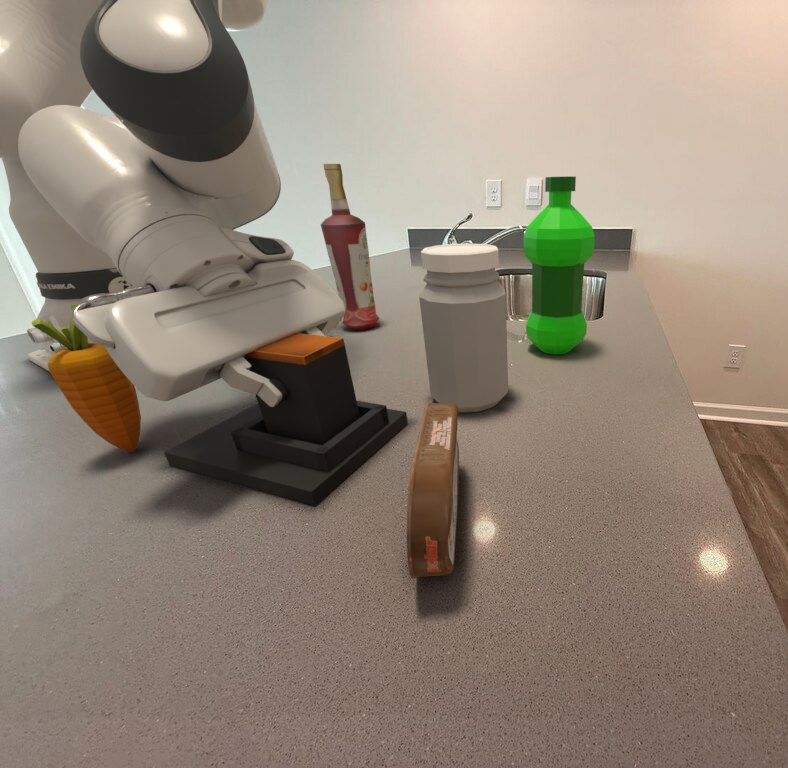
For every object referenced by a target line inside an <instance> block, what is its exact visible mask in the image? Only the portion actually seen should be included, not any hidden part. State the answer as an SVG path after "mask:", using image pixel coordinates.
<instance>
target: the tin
mask: <svg viewBox="0 0 788 768" xmlns="http://www.w3.org/2000/svg"><path fill="white" fill-rule="evenodd" d="M458 419H459V412H458V405H456V404H452V403H438V402H431V401H427V402H426V403H425V405H424V410H423V414H422V418H421V422H420V428H419V432H418V436H417V441H416V444H415V450H414V454H413V458H412V462H411V466H410V467H411V468H410V475H409V482H408V494H407V496H408V497H407V505H406V506H407V507H406V555H407V556H406V557H407V566H408V572H409V576H410V578H411V579H417V577H418V578H419V577H441V576H447V575H450V574H452V572H453V570H454V569H455V568H454V567H455V554H456V543H457V542H456V541H457V539H456V538H457V528H458V527H457V525H458V512H459V511H458V509H459V476H460V475H459V471H460V470H459V469H460V450H459V449H460V448H459V442H458Z"/></svg>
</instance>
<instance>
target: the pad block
mask: <svg viewBox="0 0 788 768" xmlns="http://www.w3.org/2000/svg"><path fill="white" fill-rule="evenodd" d="M244 358H245V359H246V360H247V361H248V362H249V363H250V364H251V368H250V370H249V371H252V372H254V373H256V374H258V375H260V376H263V377H265V378H267V379H269V380H272V379H274V378H276V377H278V378H279V379H280V380H281V381H282V382H283V383H284V385H286V386H287V387H288V388H289V389H290V391H291V392H290V395H289V396H288V398H287V399H286V400H285V401H283V402H281V403H280V404H278V405H276V406H274V407H270V406H269V405H268V404H267V403H266V402H264V401H263V400H262V399H261V398H260V397H259V396H258V395H255V398H256V401H257V404H259V407H260V410H261V413H262V416H263V419H264V422H265V425H266V428H267V431H268V434H272V435H277V436H281V437H286V438H290V439H295V440H300V441H304V442H309V443H313V444H318V445H322V446H323V445H324V444H325V443H327V442H328V441H329V440H331V439H332V438H333V437H335V436H336V435H338V434H339V433H340V432H342V431H343V430H344V429H346V428H347V427H348V426H350V425H351V424H352V423H354V422H355V421H357V420H358V419H359V418H360V415H359V410H358V405H357V401H358V400H357V396H356V392H355V386H354V383H353V378H352V372H351V369H350V364H349V358H348V354H347V350H346V344H345V340H344V337H340V336H339V337H337V336H329V335H325V336H320V335H310V334H301V333H297V334H294V335H292V336H289V337H287V338H284V339H282V340H279V341H277V342H275V343H272V344H270V345H267V346H265V347H262V348H260V349H257V350H255V351H253V352H251V353H248V354H246V355H245V357H244Z"/></svg>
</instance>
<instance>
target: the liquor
mask: <svg viewBox="0 0 788 768" xmlns="http://www.w3.org/2000/svg"><path fill="white" fill-rule="evenodd" d="M323 169H324V170H323V171H324V175H325V178H326V180H327V183H328V188H329V189H328V190H329V196H330V199H329V200H330V208H331V215H329V216H328V217H326V218H324V220H323V221H322V222H321V223H320V228H321V232H322V236H323V240H324V245H325V248H326V252H327V256H328V259H329V263H330V267H331V271H332V275H333V278H334V282H335V287H336V290H337V295H338V296H339V297H340V298H341V300H342V301H343V303H344V306H345V311H346V312H345V315H344V316H343V318H342V319H343V320H342V322H341V324H342V325H344V326H346V327H347V328H349V329H350V330H351V331H366V330H369V329H372V328H374V327H375V326H376V325H377V323H378V322H379V320H380V316H379V315H378V314H377V309H376V302H375V296H374V295H375V294H374V287H373V280H372V279H373V278H372V272H371V261H370V260H371V259H370V251H369V244H368V237H367V227H366V222H365V221H364V220H362V219H361V218H360V217H358V216H355V215H354V214H352V213H351V211H350V207H349V203H348V199H347V195H346V192H345V191H346V190H345V188H344V177H343V176H344V174H343V171H342V164H341V163H323Z"/></svg>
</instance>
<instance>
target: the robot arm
mask: <svg viewBox="0 0 788 768" xmlns="http://www.w3.org/2000/svg"><path fill="white" fill-rule="evenodd" d="M267 4H268V0H0V159H1V161H2V163H3V166H4V171H5V175H6V179H7V180H6V181H7V183H8V184H7V185H8V189H9V197H10V198H9V199H10V201H9V206H8V214H9V218H10V220H11V221H12V224H13V225H14V228H15V229H16V232H17V234H18V235H19V238H20V239H21V241H22V243H23V245H24V247H25V249H26V251H27V253H28V255H29V257H30V258H31V261H32V262H33V264H34V267H35V269H36V270H37V272H36V273H35V278H36V285H37V288H38V289H39V293H40V295H41V297H43V298H44V303H43V305H42V307H41V309H40V311H39V313H38V315H37V317H36V319H35V320H37V319H41V320H44V321H46V322H47V323H49V324H51V325H52V326H54V327H55V328H56V329H57V330H58V331H59V332H60V333H62V334H63V332H62V331H61V330H60V329H61V328H62V327H67V328H68V330H69V326H70V319H71V318H72V321H73V322H74V324H75V325H76V327H77V328H78V329H80V330H81V331H82V332H83V333H84V334H85V335H86V336H87V339H88V343H97V344H99V345H101V346H104V347H105V349H106V350H107V352H108V353H109V355H110V356H111V358H112V359H113V360H114V362H115V363H116V365H117V366H118V367H119V368H120V370H121V371H122V372H123V373H124V375H125V376H126V377H127V378H128V379H129V380H130V382H131V383H132V384H133V385H134V387H135V389H137V391H138V392H139V393H141V394H142V395H143V396H144V397H146V398H149V399H153V400H157V401H162V402H169V401H172V400H174V399H176V398H179V397H181V396H183V395H185V394H186V395H187V394H188V393H190V392H193V391H196V390H197V389H199V388H202V387H204V386H207V385H209V384H211V383H213V382H216V381H218V380H221V379H222V380H223V381H224V382H225V383H226V384H227V385H228V386H229V387H231V388H234V389H237V390H240V391H243V392H245V393H248V394H252V395H254V396H256V395H258V396H259V397H260V398H261V399H262V400H263V401H264V402H266V403H267V404H268V405H269V406H270V407H274V406H276V405H278V404H280V403H281V402H283V401H285V400H286V399H287V398H288V396H289V395H290V392H291V391H290V389H289V388H288V387H287V386H286V385H284V383H283V382H282V381H281V380H280V379H279V378H278V377H276V378H274V379H272V380H269V379H267V378H265V377H263V376H260V375H258V374H256V373H254V372H252V371H249V370H250V368H251V364H250V363H249V362H248V361H247V360H246V359H245V358H244V357H245V355H246V354H248V353H251V352H253V351H255V350H257V349H260V348H262V347H265V346H267V345H270V344H272V343H275V342H277V341H279V340H282V339H284V338H287V337H289V336H292V335H294V334H297V333H301V334H310V335H320V336H326V335H325V334H327V333H329V332H331V331H333V330H334V329H336V328H337V327H338V325H339V324H340V322H341V321H342V319H344V315H345V312H346V311H345V306H344V303H343V301H342V300H341V298H340V297H339V294H338V293H337V292H335V290H334V289H333V288H332V287H331V286H330V285H329V284H328V283H327V282H326V281H325V280H324V279H323V278H322V277H321V276H320V275H319V274H317V272H315V271H314V270H313V269H312V268H311V267H309V266H308V265H306V264H305V263H304V262H301V261H298V260H296V259H293V258H294V255H295V251H294V249H293V248H292V246H290V245H289V244H288V243H287V242H286V241H284V240H282V239H279V238H274V237H267V236H262V235H261V236H260V235H254V234H249V233H246V232H240V231H238V230H237V229H238V228H239V229H240V228H241V227H242V226H246V225H247V224H249V223H252V222H254V221H256V220H258V219H260V218H262V217H263V216H265V215H266V214H268V213H269V212H270V211H271V210H272V209H274V207H275V205H276V204H277V202H278V200H279V198H280V194H281V190H282V183H281V176H280V173H279V170H278V168H277V164H276V160H275V159H274V154H273V152H272V149H271V146H270V143H269V141H268V140H269V139H268V137H267V134H266V132H265V128H264V125H263V123H262V120H261V119H262V118H261V116H260V114H259V110H258V107H257V104H256V101H255V98H254V92H253V88H252V85H251V81H250V76H249V73H248V70H247V66H246V63H245V60H244V58H243V56H242V54H241V52H240V50H239V48H238V46H237V45H236V43H235V41H234V40H233V38H232V36H231V35H230V33H229V32H240V31H245V30H248V29H252V28H253V27H255V26H257V25H258V24H260V23H261V22H262V21H263V19H264V17H265V13H266V9H267V6H268V5H267ZM92 92H94V93H95V95H96V96H97V97H98V98H99V99H100V101H102V103H104V105H105V106H106V107H107V108H108V109H109V110H110V111H111V113H113V116H112V115H108V114H103V113H99V112H95V111H92V110H89V109H86V108H85V106H84V105H83V104H84V103H85V102H86V100H87V99H88V97H90V95H91V94H92ZM73 304H78V305H77V306H76V307H75V308H74V309H73V310H71V305H73ZM26 332H27V334H28V337H29V339H30V340H31V341H32V343H33V344H36V345H37V344H43V346H44V347H43V348H39V349H37V350H34V351H32V352H30V353H28V354H27V356H28V360H29V361H31V362H32V363H34V364H35V365H37V366H39V367H40V368H42V369H44V370H46V371H47V372H49V373H50V371H49V368H48V362H49V360H50V359H51V357H52V356H53V355H54V354H55V353H56V352H58V351H59V350H62V349H66V347H65V346H64V345H62V344H61V343H59V342H58V341H56V340H55V339H53V338H52V337H50V336H49V335H48V334H46V333H45V332H43V331H41V330H39V329H37V328H36V327H31V328H28V329H26ZM63 335H64V334H63ZM64 336H65V335H64ZM65 337H66V336H65Z"/></svg>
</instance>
